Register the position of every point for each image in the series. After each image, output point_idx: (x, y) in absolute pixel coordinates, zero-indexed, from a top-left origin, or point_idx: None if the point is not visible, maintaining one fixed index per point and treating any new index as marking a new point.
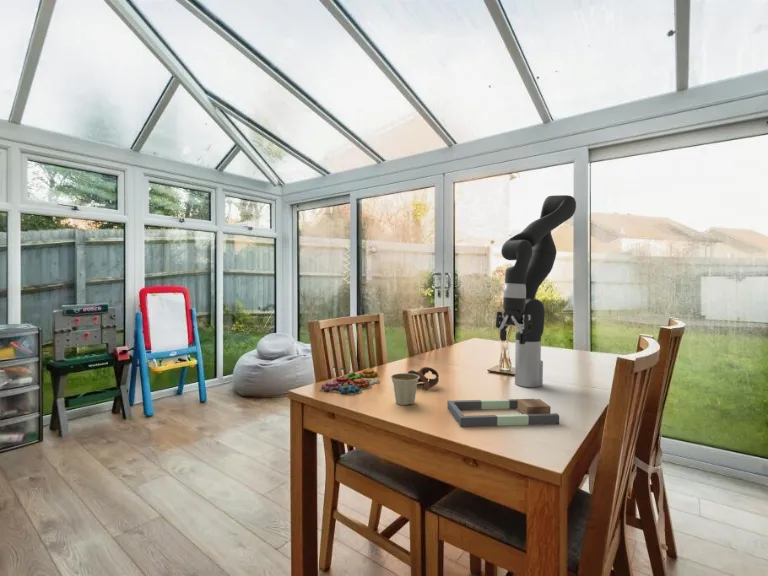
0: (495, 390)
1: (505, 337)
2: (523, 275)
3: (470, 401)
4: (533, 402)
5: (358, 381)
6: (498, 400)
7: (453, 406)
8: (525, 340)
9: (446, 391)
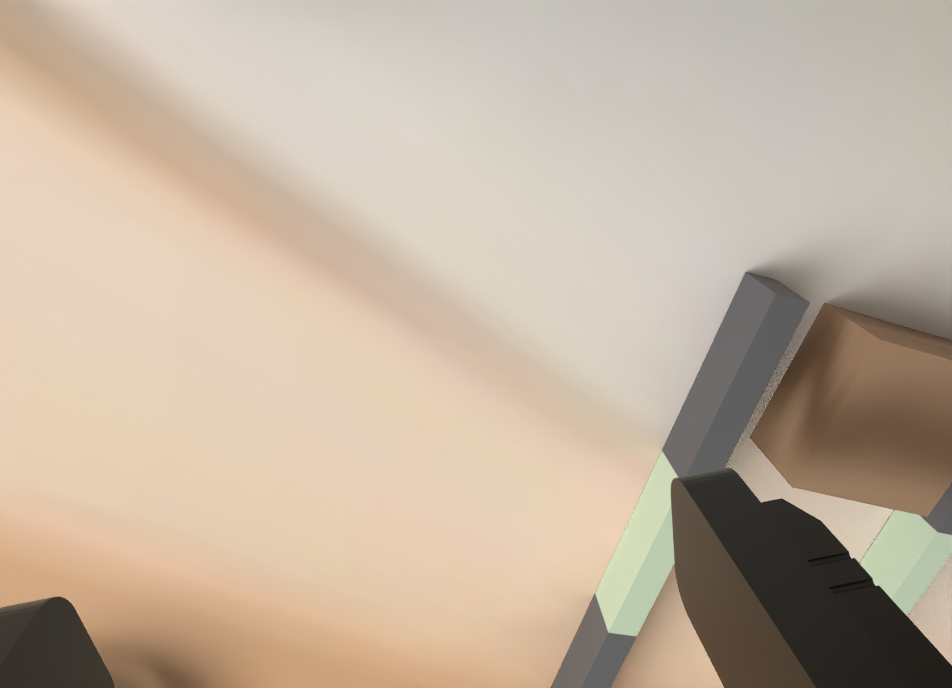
0: (272, 307)
1: (30, 681)
2: None
3: (607, 685)
4: (900, 431)
5: None
6: (671, 546)
7: None
8: (834, 559)
9: (213, 636)
